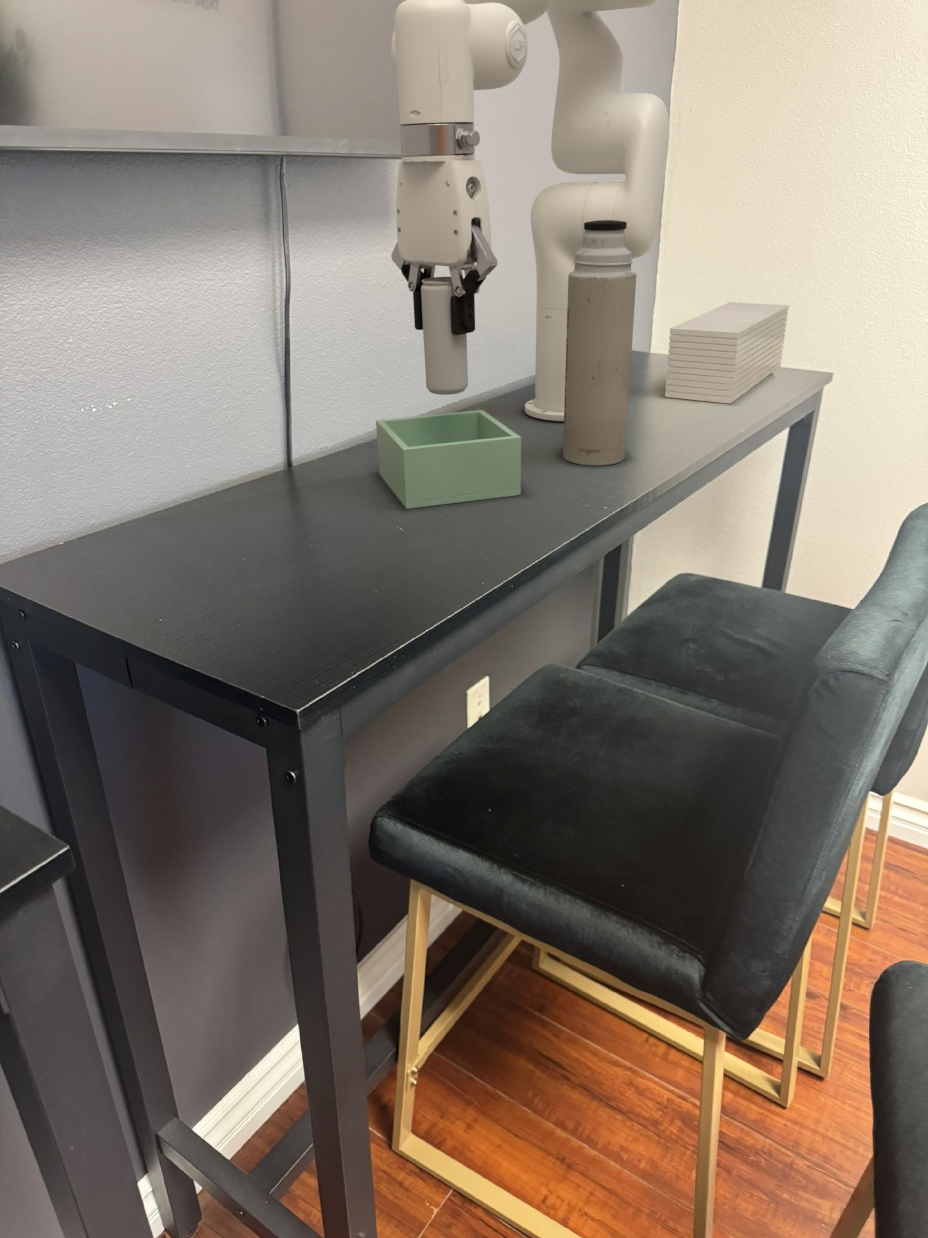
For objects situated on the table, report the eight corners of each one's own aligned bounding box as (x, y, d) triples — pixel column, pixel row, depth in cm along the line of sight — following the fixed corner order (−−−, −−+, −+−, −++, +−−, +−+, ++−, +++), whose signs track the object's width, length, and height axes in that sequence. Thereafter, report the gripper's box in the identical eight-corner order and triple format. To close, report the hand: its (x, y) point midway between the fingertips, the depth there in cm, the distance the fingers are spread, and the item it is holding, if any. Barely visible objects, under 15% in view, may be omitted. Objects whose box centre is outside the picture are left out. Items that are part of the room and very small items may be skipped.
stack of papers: (730, 403, 140) (738, 332, 135) (664, 397, 145) (670, 327, 140) (780, 366, 164) (788, 305, 159) (722, 361, 169) (729, 301, 164)
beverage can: (431, 397, 100) (426, 283, 94) (421, 387, 104) (416, 278, 99) (473, 393, 101) (470, 280, 95) (461, 383, 105) (458, 275, 100)
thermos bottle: (552, 460, 115) (558, 221, 102) (577, 445, 121) (586, 218, 108) (611, 469, 111) (625, 222, 99) (634, 452, 117) (649, 218, 105)
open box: (379, 474, 111) (375, 419, 108) (483, 462, 115) (482, 409, 112) (406, 509, 100) (403, 449, 96) (520, 495, 103) (521, 436, 100)
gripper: (526, 142, 88) (525, 333, 97) (405, 146, 99) (414, 318, 107) (475, 143, 83) (479, 344, 92) (354, 148, 94) (368, 328, 102)
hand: (444, 328), depth 99 cm, fingers closed on beverage can, 4 cm apart
